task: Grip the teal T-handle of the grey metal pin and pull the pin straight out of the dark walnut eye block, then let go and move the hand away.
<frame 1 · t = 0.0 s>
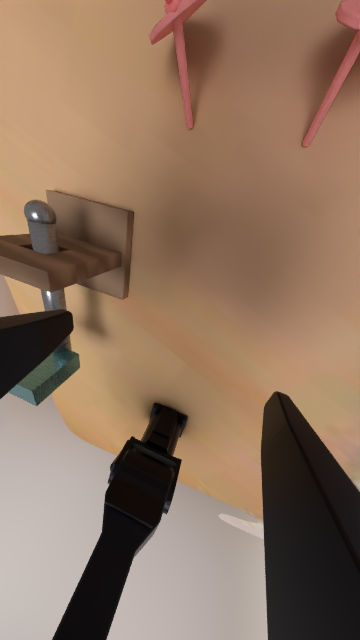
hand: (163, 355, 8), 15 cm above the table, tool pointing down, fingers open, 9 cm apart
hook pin: (32, 308, 18), point 9 cm above the table, slide at 0.0 cm
eye block: (94, 248, 23), on the table
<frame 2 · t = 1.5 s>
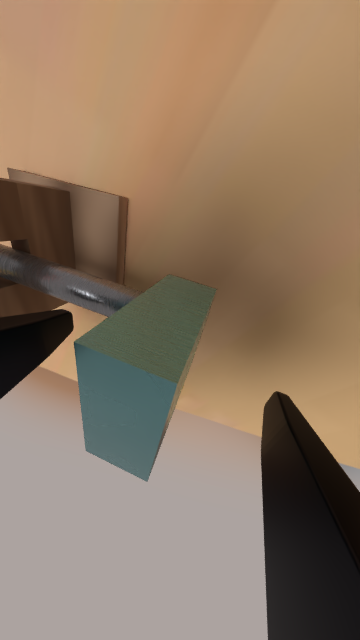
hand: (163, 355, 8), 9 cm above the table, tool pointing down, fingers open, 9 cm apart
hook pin: (18, 294, 9), point 9 cm above the table, slide at 0.0 cm
eye block: (77, 248, 18), on the table
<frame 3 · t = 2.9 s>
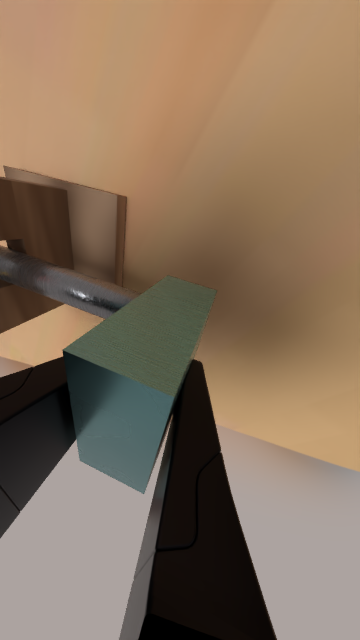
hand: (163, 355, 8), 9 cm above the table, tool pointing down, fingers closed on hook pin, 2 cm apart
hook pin: (12, 296, 9), point 9 cm above the table, slide at 0.0 cm, touching gripper
eye block: (75, 247, 17), on the table
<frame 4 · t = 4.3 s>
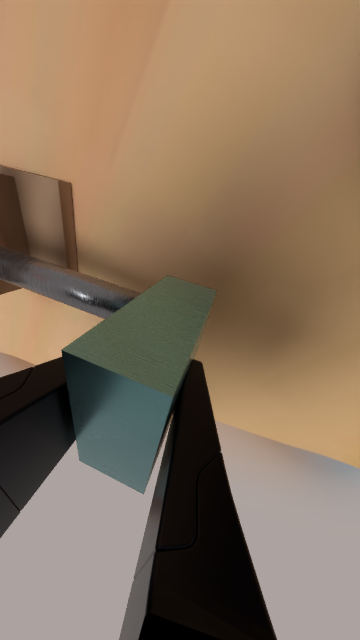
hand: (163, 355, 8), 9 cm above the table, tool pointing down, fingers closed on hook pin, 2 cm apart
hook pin: (12, 296, 9), point 9 cm above the table, slide at 5.0 cm, touching gripper
eye block: (32, 234, 18), on the table
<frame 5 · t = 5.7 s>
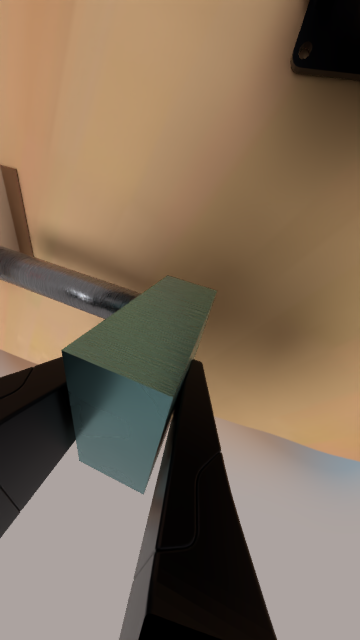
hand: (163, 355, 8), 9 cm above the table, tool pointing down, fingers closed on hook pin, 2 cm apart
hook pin: (12, 296, 9), point 9 cm above the table, slide at 10.4 cm, touching gripper
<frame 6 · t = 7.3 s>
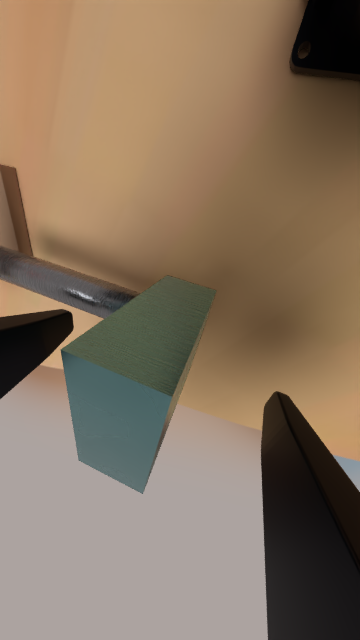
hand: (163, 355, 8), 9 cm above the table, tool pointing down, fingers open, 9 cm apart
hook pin: (12, 296, 9), point 9 cm above the table, slide at 10.4 cm
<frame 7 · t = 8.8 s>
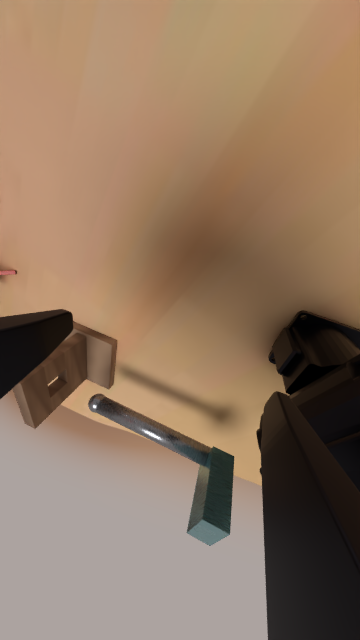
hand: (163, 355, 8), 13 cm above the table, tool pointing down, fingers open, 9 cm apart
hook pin: (145, 451, 21), point 9 cm above the table, slide at 10.4 cm
eye block: (88, 352, 30), on the table
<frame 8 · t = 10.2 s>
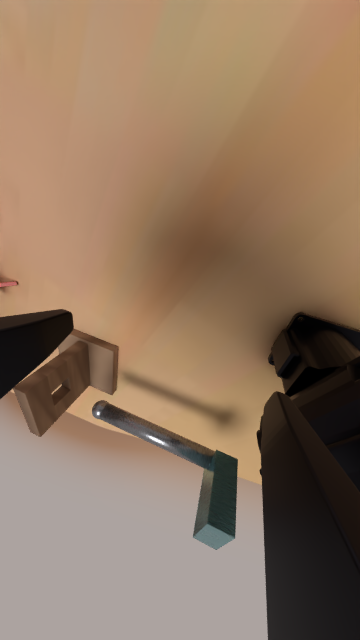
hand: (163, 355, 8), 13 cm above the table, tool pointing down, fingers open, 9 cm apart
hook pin: (149, 456, 21), point 9 cm above the table, slide at 10.4 cm
eye block: (90, 359, 31), on the table
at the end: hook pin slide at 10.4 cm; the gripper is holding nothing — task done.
